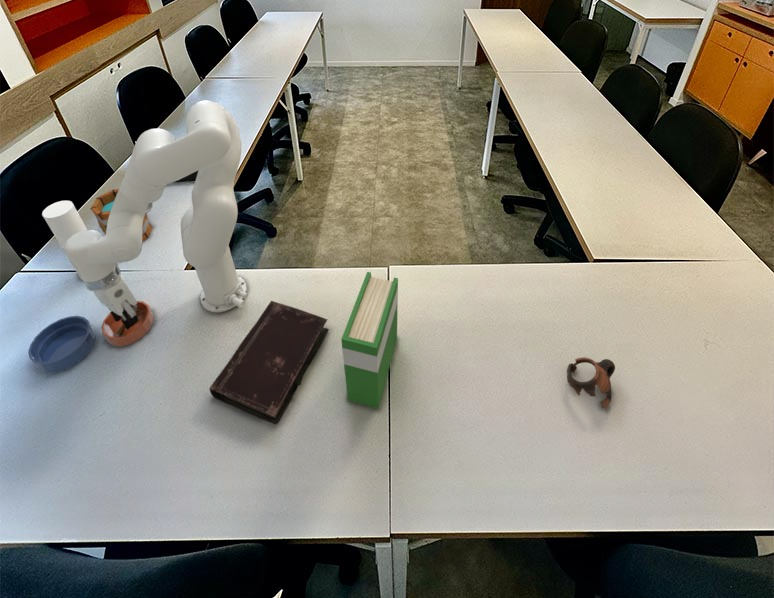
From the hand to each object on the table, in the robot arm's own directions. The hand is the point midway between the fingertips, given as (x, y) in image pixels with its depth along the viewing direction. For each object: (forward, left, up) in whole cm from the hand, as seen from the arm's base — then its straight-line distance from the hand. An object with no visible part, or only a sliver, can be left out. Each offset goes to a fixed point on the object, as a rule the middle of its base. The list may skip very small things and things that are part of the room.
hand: (126, 320), depth 113 cm
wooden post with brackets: (0, 0, -3) cm, 3 cm away
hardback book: (-63, -23, -3) cm, 67 cm away
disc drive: (+47, -59, -3) cm, 75 cm away
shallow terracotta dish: (0, 0, -3) cm, 3 cm away
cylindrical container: (+28, -6, -3) cm, 29 cm away
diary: (-41, -12, -3) cm, 43 cm away
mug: (+33, -24, -3) cm, 41 cm away
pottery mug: (-110, -45, -3) cm, 119 cm away
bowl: (+8, +12, -3) cm, 15 cm away
